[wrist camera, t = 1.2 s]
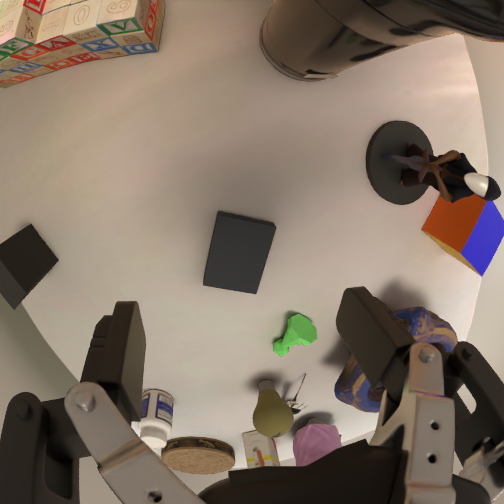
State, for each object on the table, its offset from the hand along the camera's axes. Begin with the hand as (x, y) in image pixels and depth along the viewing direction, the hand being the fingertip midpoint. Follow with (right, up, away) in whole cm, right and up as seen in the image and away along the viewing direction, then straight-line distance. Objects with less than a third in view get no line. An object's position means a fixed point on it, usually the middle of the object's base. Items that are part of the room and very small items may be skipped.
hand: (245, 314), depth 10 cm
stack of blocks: (-19, +25, +8) cm, 33 cm away
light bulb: (+2, -17, +29) cm, 34 cm away
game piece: (+7, -7, +22) cm, 24 cm away
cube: (+28, +7, +22) cm, 37 cm away
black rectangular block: (-27, +3, +17) cm, 31 cm away
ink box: (+2, -36, +37) cm, 52 cm away
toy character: (+12, -33, +37) cm, 51 cm away
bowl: (+21, -11, +29) cm, 37 cm away
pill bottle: (-15, -21, +29) cm, 39 cm away
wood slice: (-12, -41, +38) cm, 57 cm away
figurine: (+18, +13, +18) cm, 28 cm away
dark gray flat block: (-1, +2, +20) cm, 20 cm away
